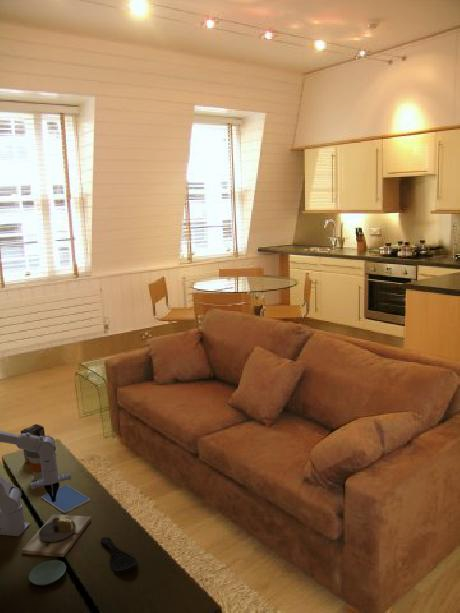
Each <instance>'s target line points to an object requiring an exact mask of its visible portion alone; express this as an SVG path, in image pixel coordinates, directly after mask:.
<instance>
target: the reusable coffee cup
mask: <svg viewBox="0 0 460 613" xmlns="http://www.w3.org/2000/svg"><path fill="white" fill-rule="evenodd" d="M56 448H57V447H56V445H54V450H55V451H56V450H57V449H56ZM34 451H35V450H34ZM55 455H56V456H57V454H56V453H55ZM27 456H28V458H29V459H28V462H29V463H28V462H27V463H28V465H29V468H30V469H29V470H30V471H31V472H32V475H33V478H34V481H36V480H39V479H42V478H43V477H42V470H41V463H40V455H39V454H38V453H37V452H33V451H28V450H27Z"/></svg>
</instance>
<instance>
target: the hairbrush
mask: <svg viewBox="0 0 460 613" xmlns="http://www.w3.org/2000/svg"><path fill="white" fill-rule="evenodd" d="M100 543H101V544H102V545H104V546H106V547H107V548H108V549H109V550H110V558H109V566H110V569H111V570H112V571H113V572H114V573H115V574H122V573H126V572H128V571H131V570H133V569H134V568H136V567H137V566H138V560H137V558H136V557H135V556H133V553H130V554H129V551H127V550H126V549H124V550H122V549H121V550H120V548H119V547H117V546H116V545H115V542H113V540H112V538H111V537H109V536H104V537H101V539H100Z"/></svg>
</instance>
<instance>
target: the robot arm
mask: <svg viewBox="0 0 460 613" xmlns="http://www.w3.org/2000/svg"><path fill="white" fill-rule="evenodd" d="M38 437H39V436H35V435H30V433H28V432H27V433H23V434H21V433H20V434H15V433H11V432H8V431H4V430H2V429H0V443H4V444H8V445H9V444H10V445H16V447H17V448H18V449H19V450H23V449H24V450H28V451H33V452H37V453H38V454H39V455H40V463H41V470H42V477H43V478H42V479H39V480H37V481H36V480H34V481H31V482H30V487H31V490H34V489H36V488H41V487H43V488H44V490H45V491H46V494H49V496H50V497H51V500H52V502H56V495H57V491H58V489H59V488H60V483H61V482H64V481H71V480H72V475H71V472H68V473H60V474H59V470H58V463H57V462H58V461H57V454H56V450H54V445H55V444H56V443H55V442H56V441H55V439H54V437H52V436H50V435H48V434H45V436H40V437H39V438H38ZM55 446H56V445H55ZM34 450H35V451H34ZM55 454H56V455H55ZM52 491H53V494H52ZM21 497H22V490H21V489H20V488H19V487H18V486H15V485H13V484H12V482H7V481H6V480H5V479H4V478H3V476H2V475H1V474H0V536H1V535H2V536H12V537H13V536H14V537H20V536H21V534H22V533H23V532H24V531H25V530H26V529H27V528H28V527H29V526H30V524H31V522H27V521H26V522H25V515H24V509H23V508H24V507H23V504H22V502H21Z"/></svg>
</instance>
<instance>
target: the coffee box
mask: <svg viewBox="0 0 460 613" xmlns="http://www.w3.org/2000/svg"><path fill="white" fill-rule="evenodd" d="M27 432H28V433H30V435H35V436H39V437H40V436H46V433H45V427H44V426H43V425H40V424H36V423H35V424H33V425H31V426H29V427H26V428H24V429H22V430H20V435H21V434H23V433H27ZM39 437H38V438H39ZM22 450H23V455H24V456H23V457H24V461H26V462H25V463H28V459H29V458H28V456H27V450H24V449H22Z"/></svg>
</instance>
